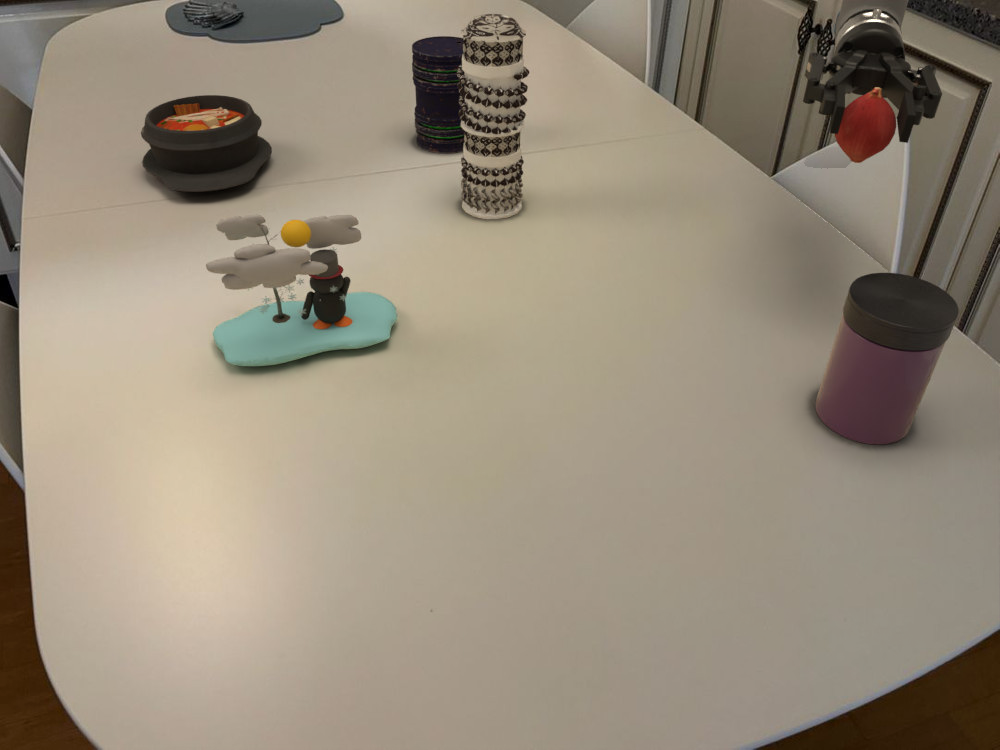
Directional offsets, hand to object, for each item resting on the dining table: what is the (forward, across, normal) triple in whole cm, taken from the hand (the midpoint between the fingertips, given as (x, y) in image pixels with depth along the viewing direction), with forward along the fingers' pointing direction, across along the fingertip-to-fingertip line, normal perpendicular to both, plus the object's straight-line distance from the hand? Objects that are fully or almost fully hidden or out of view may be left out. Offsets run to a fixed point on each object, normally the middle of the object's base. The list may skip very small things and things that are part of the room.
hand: (872, 124), depth 83 cm
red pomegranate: (-5, 0, +6) cm, 8 cm away
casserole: (-14, -88, +24) cm, 92 cm away
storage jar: (-35, -58, +24) cm, 72 cm away
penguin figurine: (+21, -53, +24) cm, 62 cm away
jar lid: (+15, +5, +11) cm, 19 cm away
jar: (+15, +5, +24) cm, 28 cm away
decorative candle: (-16, -44, +24) cm, 53 cm away
